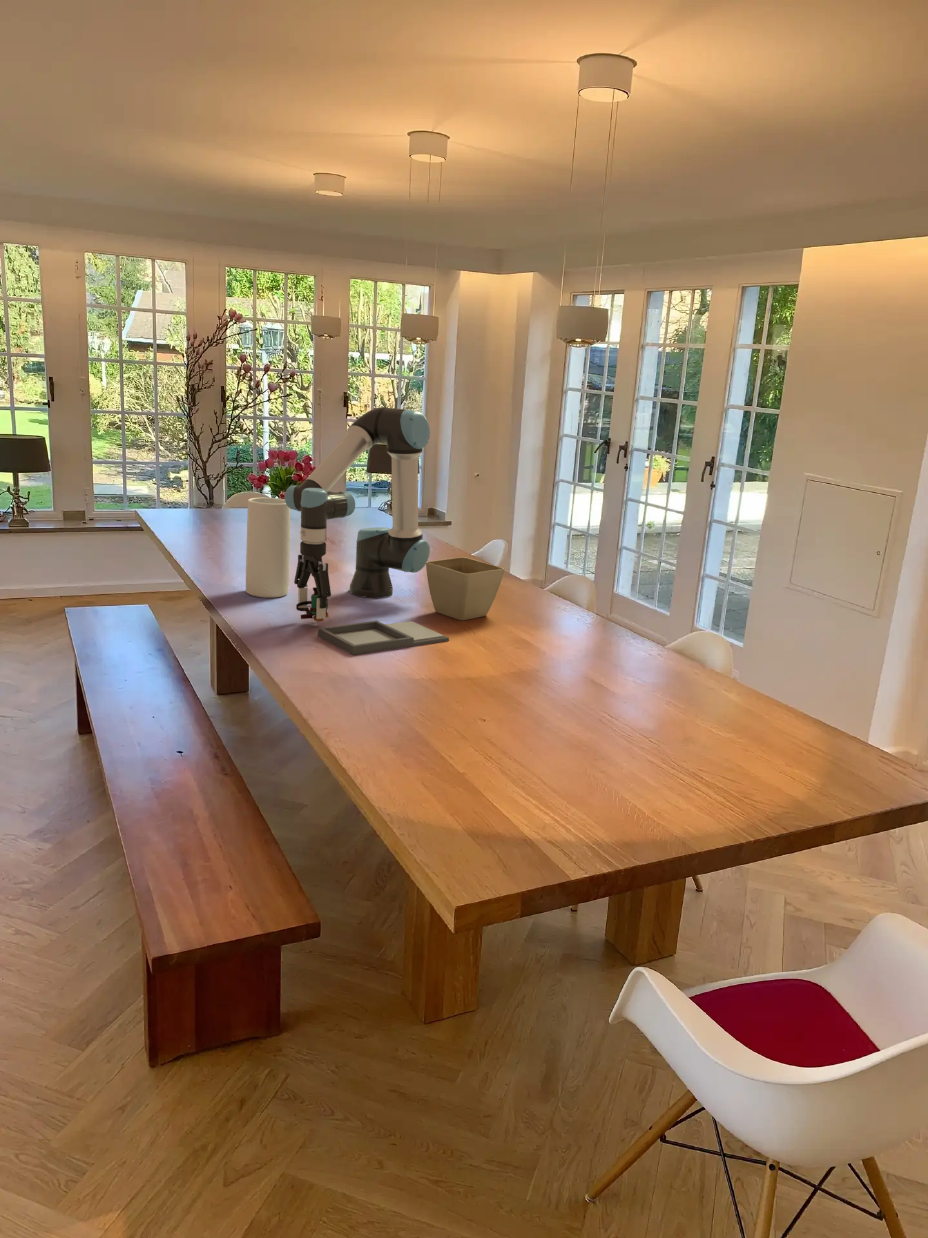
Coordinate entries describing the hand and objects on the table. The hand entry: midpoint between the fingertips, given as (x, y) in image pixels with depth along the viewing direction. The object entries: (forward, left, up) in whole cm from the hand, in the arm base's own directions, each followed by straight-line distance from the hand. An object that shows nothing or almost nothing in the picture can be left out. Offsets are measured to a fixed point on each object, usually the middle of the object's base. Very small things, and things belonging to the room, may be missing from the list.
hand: (311, 613), depth 273 cm
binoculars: (0, 0, -2) cm, 2 cm away
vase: (-6, -40, -4) cm, 40 cm away
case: (-13, +20, -4) cm, 24 cm away
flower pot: (-53, +7, -4) cm, 53 cm away
